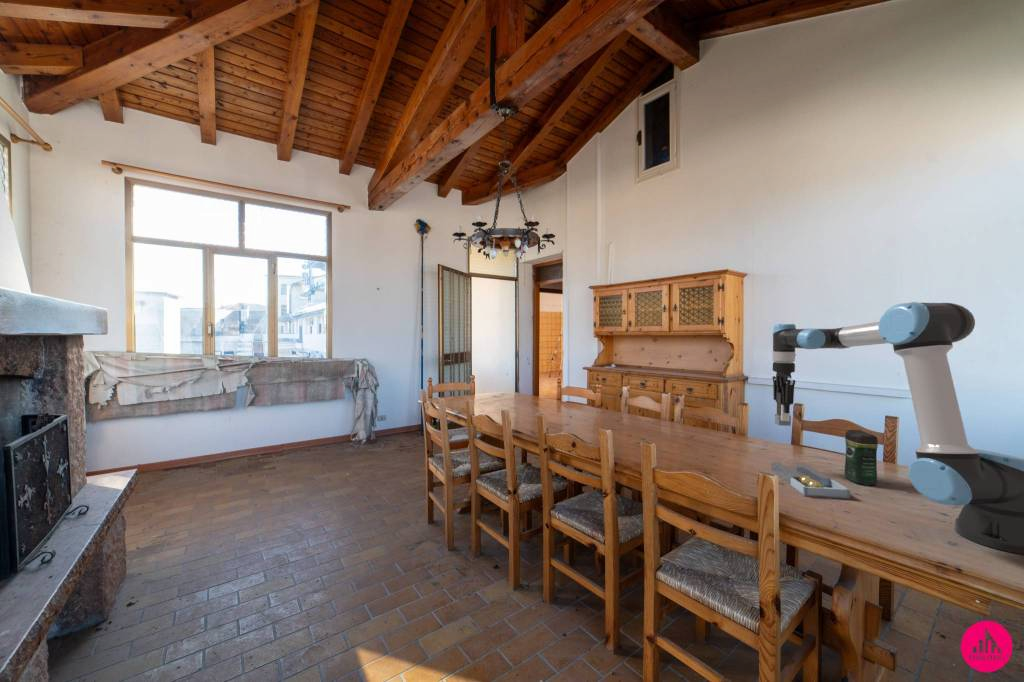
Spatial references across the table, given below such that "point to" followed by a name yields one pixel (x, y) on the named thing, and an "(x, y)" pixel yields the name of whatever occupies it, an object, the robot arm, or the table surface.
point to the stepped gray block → (778, 415)
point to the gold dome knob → (813, 484)
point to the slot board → (800, 473)
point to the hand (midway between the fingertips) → (782, 419)
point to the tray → (822, 490)
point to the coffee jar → (861, 457)
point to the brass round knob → (804, 479)
